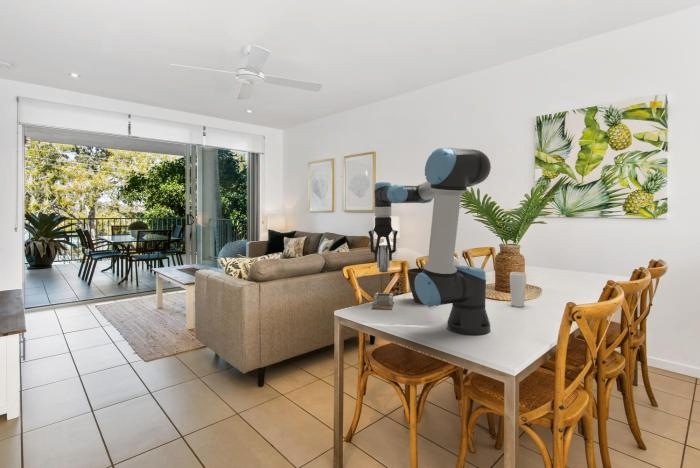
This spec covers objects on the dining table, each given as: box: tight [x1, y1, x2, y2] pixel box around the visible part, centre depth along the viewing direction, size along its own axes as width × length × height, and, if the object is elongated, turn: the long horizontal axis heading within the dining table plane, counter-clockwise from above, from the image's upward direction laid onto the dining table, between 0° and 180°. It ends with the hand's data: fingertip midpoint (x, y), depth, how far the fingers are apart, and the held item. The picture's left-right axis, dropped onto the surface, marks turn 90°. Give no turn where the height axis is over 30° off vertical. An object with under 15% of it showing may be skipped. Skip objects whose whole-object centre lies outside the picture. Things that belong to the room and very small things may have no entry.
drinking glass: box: [509, 271, 527, 308], centre depth 166 cm, size 7×7×15 cm
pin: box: [378, 244, 389, 273], centre depth 168 cm, size 4×4×12 cm
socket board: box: [370, 292, 395, 311], centre depth 166 cm, size 15×9×5 cm, turn 169°
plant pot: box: [406, 267, 424, 305], centre depth 171 cm, size 15×15×16 cm
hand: (383, 267), depth 168 cm, fingers closed on pin, 4 cm apart
